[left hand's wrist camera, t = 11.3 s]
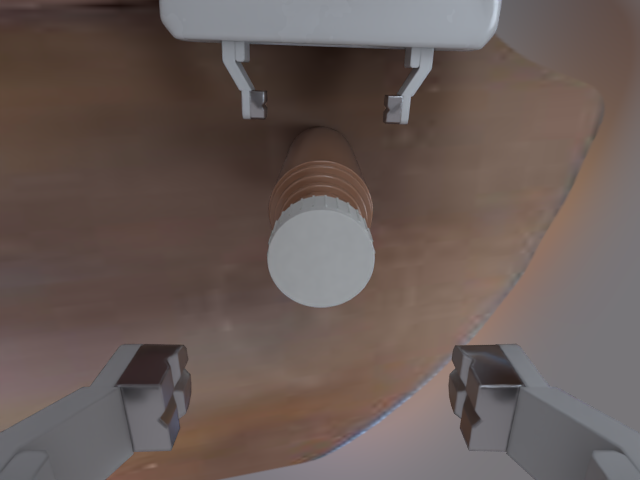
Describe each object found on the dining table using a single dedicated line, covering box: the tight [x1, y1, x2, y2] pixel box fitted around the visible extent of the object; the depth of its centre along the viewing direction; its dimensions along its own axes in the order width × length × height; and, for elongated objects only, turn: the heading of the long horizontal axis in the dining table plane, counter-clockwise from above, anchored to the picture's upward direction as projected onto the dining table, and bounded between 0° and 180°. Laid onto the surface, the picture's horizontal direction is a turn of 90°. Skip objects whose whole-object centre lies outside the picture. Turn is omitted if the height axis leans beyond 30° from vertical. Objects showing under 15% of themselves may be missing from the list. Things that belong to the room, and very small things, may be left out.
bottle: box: [269, 127, 373, 230], centre depth 26 cm, size 6×6×20 cm
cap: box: [267, 195, 375, 307], centre depth 18 cm, size 4×4×2 cm
